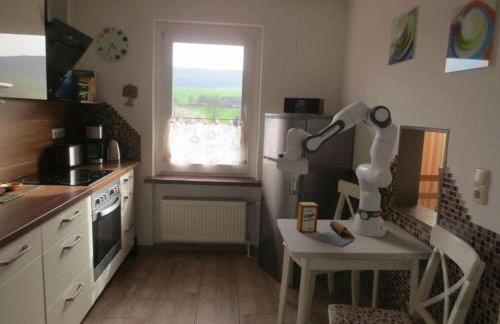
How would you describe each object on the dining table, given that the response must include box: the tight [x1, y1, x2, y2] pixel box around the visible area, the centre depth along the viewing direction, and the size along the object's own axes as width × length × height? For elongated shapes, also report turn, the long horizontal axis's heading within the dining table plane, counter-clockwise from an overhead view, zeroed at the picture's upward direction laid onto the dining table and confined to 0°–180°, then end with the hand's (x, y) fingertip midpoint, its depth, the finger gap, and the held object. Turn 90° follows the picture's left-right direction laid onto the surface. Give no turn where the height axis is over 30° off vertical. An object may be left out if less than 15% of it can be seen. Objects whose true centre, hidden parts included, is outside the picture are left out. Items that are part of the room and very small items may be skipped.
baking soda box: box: [296, 201, 319, 234], centre depth 188 cm, size 10×6×16 cm
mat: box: [314, 231, 354, 248], centre depth 178 cm, size 13×16×1 cm
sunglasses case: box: [329, 220, 355, 239], centre depth 188 cm, size 18×7×7 cm, turn 6°
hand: (291, 179), depth 194 cm, fingers open, 5 cm apart
